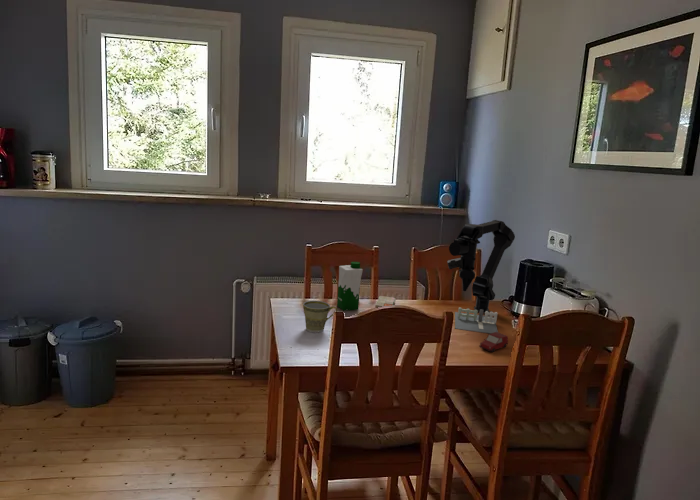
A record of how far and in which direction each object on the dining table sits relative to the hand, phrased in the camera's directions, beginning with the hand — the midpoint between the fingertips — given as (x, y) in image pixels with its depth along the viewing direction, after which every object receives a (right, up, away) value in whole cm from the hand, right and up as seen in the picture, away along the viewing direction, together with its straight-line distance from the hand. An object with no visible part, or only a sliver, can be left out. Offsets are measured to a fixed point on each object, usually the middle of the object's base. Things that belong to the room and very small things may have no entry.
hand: (464, 289), depth 227 cm
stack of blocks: (-36, -14, -20) cm, 43 cm away
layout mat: (+3, -14, -6) cm, 15 cm away
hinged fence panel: (+1, -12, -3) cm, 13 cm away
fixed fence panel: (+9, -14, -5) cm, 17 cm away
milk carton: (-50, -8, +1) cm, 51 cm away
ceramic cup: (-61, -13, -29) cm, 69 cm away
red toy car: (+4, -20, -32) cm, 38 cm away
